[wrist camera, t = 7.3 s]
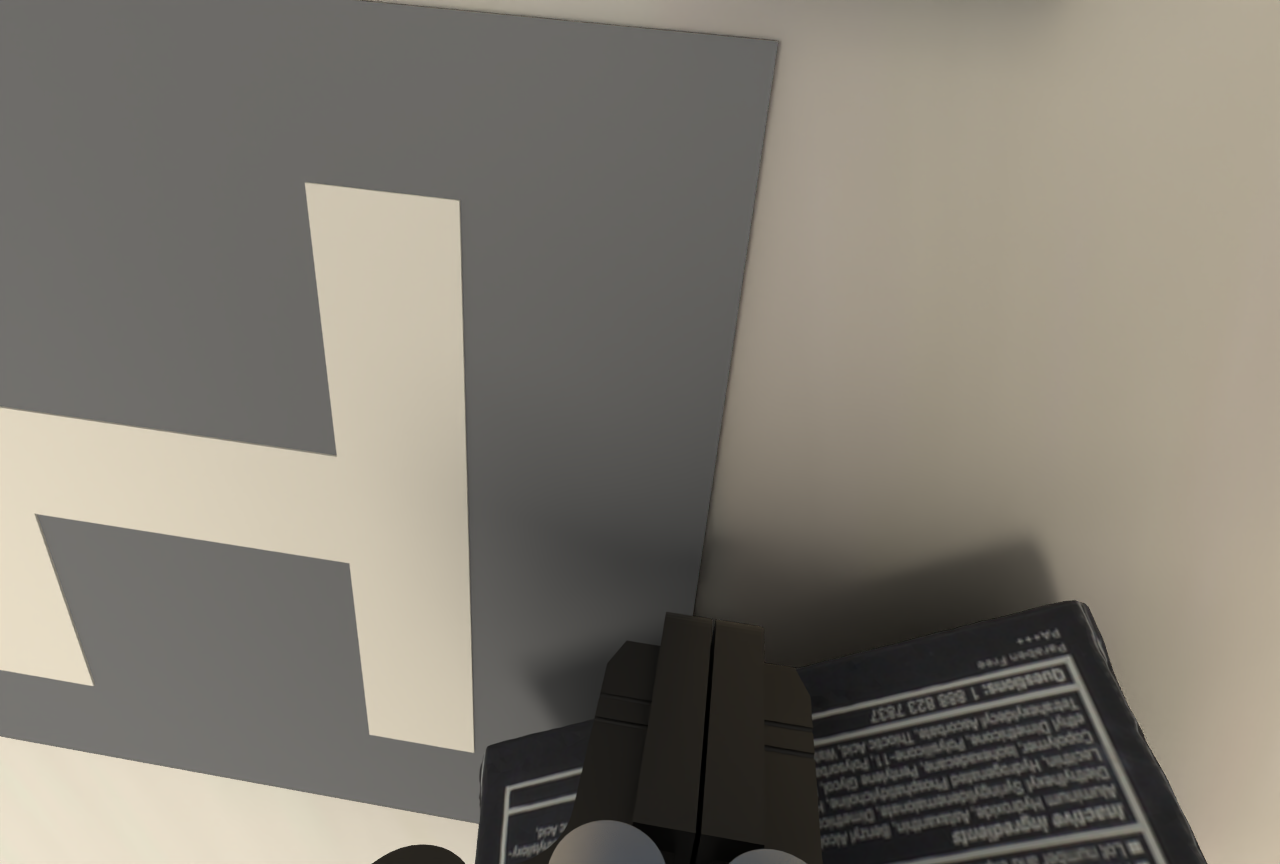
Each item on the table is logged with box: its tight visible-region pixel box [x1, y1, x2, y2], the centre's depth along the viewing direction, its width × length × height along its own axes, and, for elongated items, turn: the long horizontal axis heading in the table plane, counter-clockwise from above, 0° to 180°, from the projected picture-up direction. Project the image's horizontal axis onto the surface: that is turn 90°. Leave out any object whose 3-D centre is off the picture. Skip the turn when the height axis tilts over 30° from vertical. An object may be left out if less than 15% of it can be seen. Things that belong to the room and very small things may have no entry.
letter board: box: [0, 0, 778, 824], centre depth 15 cm, size 17×20×1 cm
